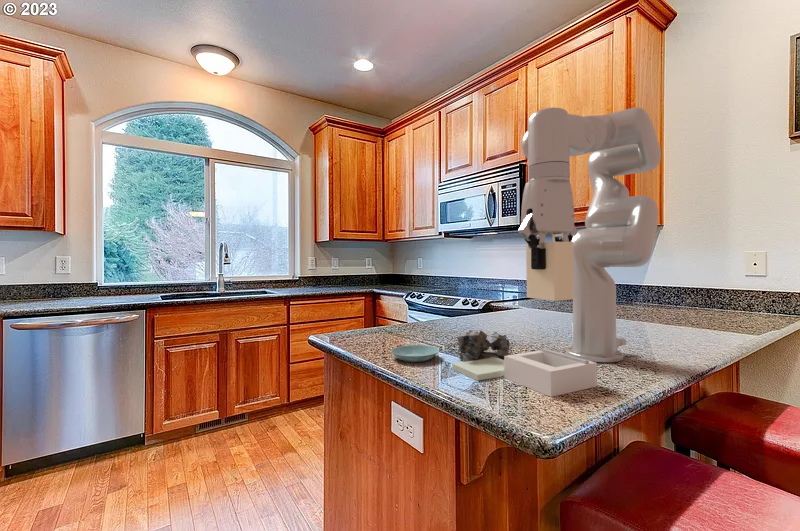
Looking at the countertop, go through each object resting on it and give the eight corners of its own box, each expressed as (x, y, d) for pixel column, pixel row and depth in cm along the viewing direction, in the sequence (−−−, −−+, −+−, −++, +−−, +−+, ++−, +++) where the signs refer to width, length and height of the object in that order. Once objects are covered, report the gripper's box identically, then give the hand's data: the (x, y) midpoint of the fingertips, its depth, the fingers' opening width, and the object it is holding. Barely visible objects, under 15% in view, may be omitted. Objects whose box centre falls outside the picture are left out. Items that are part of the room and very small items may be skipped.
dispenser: (547, 369, 83) (547, 347, 83) (596, 386, 72) (596, 360, 72) (504, 377, 77) (504, 353, 77) (550, 396, 67) (550, 368, 67)
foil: (527, 348, 89) (478, 316, 86) (504, 388, 88) (453, 357, 85) (503, 336, 100) (459, 307, 97) (482, 371, 100) (437, 343, 96)
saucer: (381, 358, 95) (381, 349, 95) (418, 350, 102) (418, 342, 102) (410, 369, 85) (410, 358, 85) (449, 360, 92) (449, 350, 92)
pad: (495, 362, 89) (495, 357, 89) (523, 372, 81) (523, 366, 81) (452, 369, 84) (452, 363, 84) (477, 380, 76) (477, 374, 76)
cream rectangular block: (544, 296, 79) (544, 243, 78) (573, 299, 72) (573, 241, 72) (526, 297, 77) (526, 243, 76) (554, 301, 70) (554, 241, 70)
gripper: (563, 182, 81) (564, 267, 81) (501, 176, 74) (502, 269, 74) (595, 175, 74) (595, 268, 75) (530, 167, 67) (530, 270, 67)
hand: (549, 267), depth 74 cm, fingers closed on cream rectangular block, 4 cm apart
